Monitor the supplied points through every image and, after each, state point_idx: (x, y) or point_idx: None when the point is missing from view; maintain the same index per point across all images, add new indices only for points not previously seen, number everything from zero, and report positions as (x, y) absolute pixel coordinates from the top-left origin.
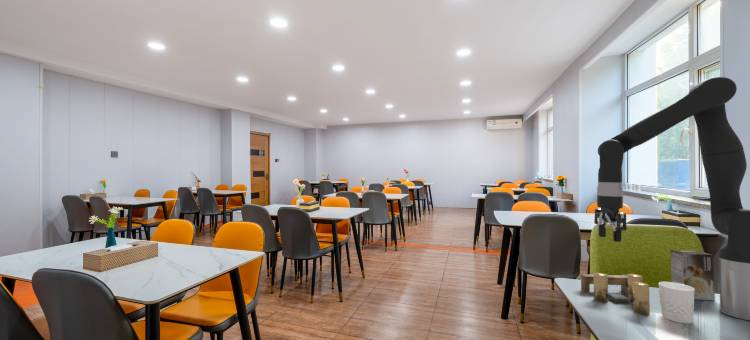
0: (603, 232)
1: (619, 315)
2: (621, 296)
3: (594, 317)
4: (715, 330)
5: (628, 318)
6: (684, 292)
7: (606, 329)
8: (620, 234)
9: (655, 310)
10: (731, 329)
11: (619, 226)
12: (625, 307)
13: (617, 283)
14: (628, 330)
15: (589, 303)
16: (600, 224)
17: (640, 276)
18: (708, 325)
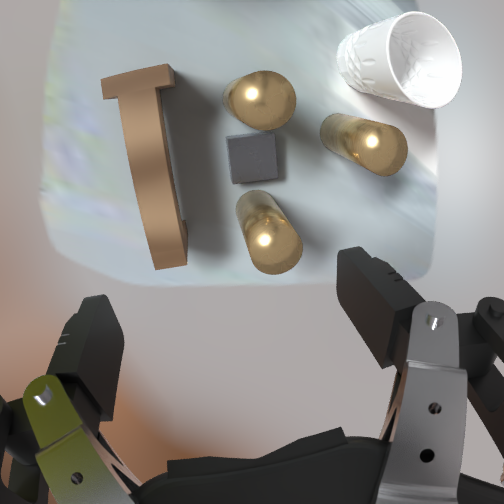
0: (102, 342)
1: (363, 205)
2: (253, 147)
3: None
4: None
5: (378, 192)
6: (457, 74)
7: (420, 261)
8: (413, 298)
9: (314, 78)
10: None
11: (494, 376)
12: (306, 159)
13: (164, 129)
14: (426, 223)
15: None
16: (110, 447)
17: (276, 81)
18: (389, 17)
